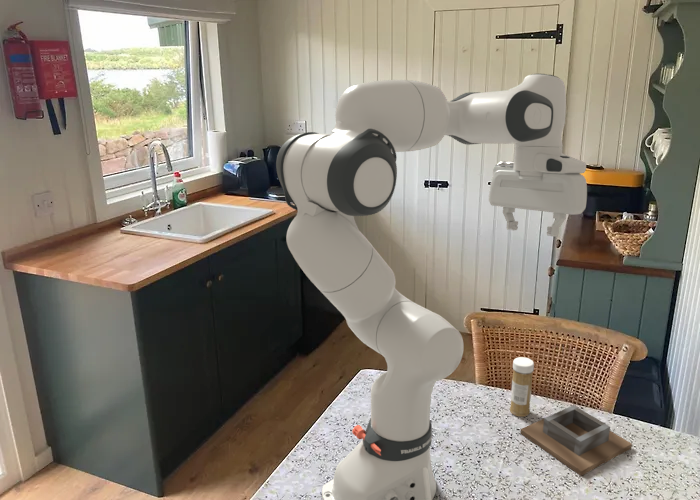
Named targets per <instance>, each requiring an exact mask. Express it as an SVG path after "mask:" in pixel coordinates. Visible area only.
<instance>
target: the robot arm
mask: <svg viewBox="0 0 700 500" xmlns="http://www.w3.org/2000/svg"><path fill="white" fill-rule="evenodd" d="M566 93H567V92H566V86H565V82H564V80H563V79H561V78H560V77H558V76H556V75H553V74H547V73H532V74H528V75H526V76H525V77H524V78H523V79H522V82H520V83H519V84H518V85H516V86H514V87H511V88H509V89H507V90H506V89H505V90H495V91H485V92H480V91H478V92H473V91H472V92H464V93H462V94H460V95H459V96H457V97H455V98H453V99H451V100H449V101H448V99H447V97H446V95H445V94H444V92H443V91H442V89H441V88H439V87H438V86H436V85H433V84H430V83H427V82H423V81H417V80H408V79H382V80H381V79H380V80H373V81H367V82H366V81H365V82H362V83H357V84H354V85H351V86H349V87H348V88H346V89H345V90H344V92H342V94H341V95H340V97H339V99H338V101H337V104H336V107H335V125H334V127H333V129H332V130H331V133H321V132H320V133H319V132H314V131H313V132H311V131H310V132H304V133H303V132H301V133H299V134H296V135H294V136H292V137H290V138H289V139H287V140H286V141H285V142H284V143H283V144H282V145H281V147H280V148H279V151H278V153H277V157H276V162H275V167H276V168H275V169H276V174H277V178H278V180H279V182H280V186H281V188H282V189H283V193H284V199H285V203H286V204H287V206H288V207H290V208H291V209H293V210H295V211H297V214H296V215H295V216H294V218H293V219H292V220H291V222H290V224H289V226H288V228H287V231H286V239H285V240H286V245H287V248H288V250H289V251H290V253H291V255H292V257H293V258H294V260H295V262H296V263H297V266H299V267H300V269H301V270H302V271H303V272H302V273H304V274H305V276H306V277H307V278H308V280H310V282H311V283H312V284H313V285H314V286H315V287H316V288H317V290H319V291H320V293H321V294H323V296H324V297H325V298H326V299H327V300H328V301H329V303H331V304H332V305H333V306H334V307H335V308H336V309H337V311H339V313H340V314H341V315H342V316H343V317H344V319H345V320H346V321H345V322H346V324H347V326H348V328H349V329H350V330H351V331H352V332H353V334H354V335H355V336H356V337H357V338H358V339H359V340H360V341H361V342H362V343H363V344H364V345H366V347H369V348H370V349H372V350H373V351H375V352H376V353H378V354H379V355H382V357H384V359H385V362H386V366H387V369H386V371H385V372H384V373H382V374H380V375H379V376H378V377H377V378H376V379H375V380H374V381H373V383H372V384H371V388H370V418H369V421H368V423H367V426H366V428H365V429H364V428H363V427H362V426H361V425H360V424H357V425H355V426H354V427H353V428H352V430H351V431H352V434H353V436H355V437H356V438H357V439H358V440H360V442H359V443H358V444H357V445H355V447H354V448H353V449H352V450H351V451H350V452H349V453H348V454H347V455H346V456H345V457H344V458H343V459H342V460H341V461H340V462H339V463H337V465H336V468H335V471H334V474H333V478H332V479H331V480H329V481H328V482H327V483H324V484H323V485H322V488H321V491H322V492H321V499H322V500H434V497H435V495H436V493H437V481H436V479H435V475H434V471H433V467H432V460H431V459H432V458H431V448H430V447H431V444H432V440H433V439H432V438H433V432H432V431H433V428H432V427H433V426H432V425H433V424H432V421H431V420H430V419H431V402H432V393H433V389H434V386H435V384H436V383H437V382H438V381H442V380H443V379H446V378H448V377H449V376H450V375H451V374H452V373H454V372H455V371H456V369H457V368H458V366H459V365H460V363H461V361H462V358H463V354H464V340H463V336H462V334H461V332H460V331H459V330H458V329H456V327H455V326H453V325H452V324H451V323H450V322H449V321H448V320H447V319H445V318H444V317H443V316H441V315H440V314H438V313H436V312H433V311H432V310H430V309H428V308H426V307H423V306H422V305H420V304H418V303H416V302H415V301H412V300H411V299H409V298H407V297H406V296H405V295H403V294H402V293H401V292H400V291H398V290H397V288H396V283H397V282H396V274H395V272H394V271H393V269H392V268H391V267H390V266H389V264H388V262H386V261H385V259H384V258H383V256H381V254H380V253H379V252H378V251H377V250H376V248H375V247H374V246H373V245H372V243H371V242H370V241H369V240H368V238H367V237H366V236H365V235H364V234H363V233H362V231H360V230H359V227H358V225H357V222H356V221H355V217H365V216H366V217H367V216H373V215H375V214H377V213H379V212H381V211H382V210H384V208H386V206H387V205H388V204H389V203H390V201H391V199H392V197H393V194H394V192H395V188H396V185H397V184H396V183H397V180H398V179H397V178H398V167H397V153H399V152H400V153H402V152H404V153H406V152H415V151H421V150H425V149H428V148H432V147H434V146H437V145H438V144H440V143H441V142H442V140H443V139H444V137H445V136H447V137H450V138H452V139H454V140H455V141H457V142H459V143H461V144H464V145H467V146H470V145H471V146H472V145H479V144H480V145H481V144H484V145H485V144H490V145H491V144H498V145H499V144H502V145H504V144H508V145H509V144H512V145H513V144H514V154H513V161H512V160H511V161H505V160H501V161H499V162H498V163H496V164H495V165H494V167H493V168H492V178H491V180H490V181H491V182H490V185H489V190H488V191H489V192H488V202H489V204H490V205H491V206H492V207H493V206H494V207H502V213H503V216H504V218H505V221H506V230H508V231H517V230H518V227H519V226H518V225H519V221H518V220H515V217H514V216H515V215H514V213H515V211H516V209H519V210H520V209H521V210H529V211H538V212H548V213H552V219H554V221H553V223H552V224H551V226H547V228H546V235H547V236H548V237H558V236H559V234H560V227H561V226H562V225H563V223H564V222H565V221H566V218H567V215H571V216H572V215H580V214H583V212H584V211H585V210H586V208H587V199H588V185H587V180H586V177H585V176H584V175H583V174H584V173H585V172H586V170H587V164H586V162H584V161H582V160H581V159H578V158H575V157H572V156H570V155H568V154H565V153H563V151H564V148H563V147H564V146H563V145H564V144H563V139H562V135H563V134H562V133H563V130H564V127H565V125H566V116H567V115H566V114H567V94H566Z"/></svg>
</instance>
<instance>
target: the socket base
mask: <svg viewBox="0 0 700 500" xmlns="http://www.w3.org/2000/svg"><path fill="white" fill-rule="evenodd" d="M519 431H520V432H519V434H520V435H521V436H523V437H525V439H528V440H529V441H530V442H531V443H533V444H534V445H536V446H537V447H539V448H540V449H542V450H543V451H545V452H546V454H547V453H548V454H549V455H550V456H552V457H553V458H554V459H556V460H558V462H560V463H561V464H563V465H564V466H566V467H568V469H570V470H572V471H573V472H575V474H577V475H579V476H580V477H582V476H584V475H585V474H588V473H589V472H591V471H593V470H595V469H597V468H599V467H600V466H602V465H604V464H605V463H607V462H610V461H611V460H613V459H614V458H617V457H618V456H621V455H622V454H624V453H626V452H627V451H629V450H632V446H633V444H632V443H631V442H630V441H628V440H627V439H624V438H623V437H622V436H620V435H618V434H617V433H614V432H613V431H612V430H611V426H610V425H608V424H607V423H606V422H605V423H604V422H603V421H601V420H599V419H598V418H596V417H594V416H593V415H591V414H590V413H588V412H586V411H584V410H582V409H581V408H579V407H578V406H576V405H574V404H573V405H571V406H569V407H566V408H564V409H561V410H560V411H558V412H555V413H552V414H551V415H548V416H547V417H544V418H542V419H540V420H538V421H535V422H533V423H531V424H529V425H527V426H524V427H522V428H520V430H519Z"/></svg>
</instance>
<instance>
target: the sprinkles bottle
mask: <svg viewBox="0 0 700 500" xmlns="http://www.w3.org/2000/svg"><path fill="white" fill-rule="evenodd" d="M534 369H535V362H534V361H533V360H532V359H531V358H528V357H525V356H524V357H523V356H520V357H519V356H518V357H516V358H514V359H513V362H512V371H513V372H512V380H511V395H510V407H509V411H510V413H511V414H512V415H513V416H515V417H520V418H521V417H523V418H524V417H527V416H529V414H530V411H531V410H530V408H531V407H530V406H531V405H530V404H531V400H532V399H531V397H532V383H533V382H532V381H533V372H534Z"/></svg>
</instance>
